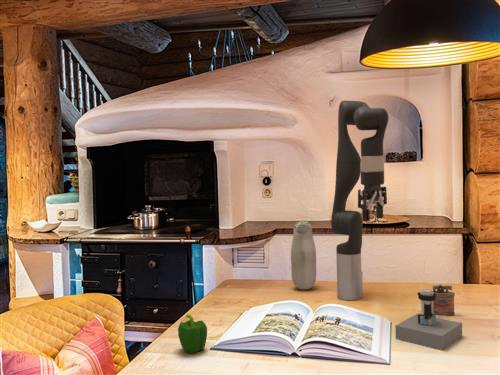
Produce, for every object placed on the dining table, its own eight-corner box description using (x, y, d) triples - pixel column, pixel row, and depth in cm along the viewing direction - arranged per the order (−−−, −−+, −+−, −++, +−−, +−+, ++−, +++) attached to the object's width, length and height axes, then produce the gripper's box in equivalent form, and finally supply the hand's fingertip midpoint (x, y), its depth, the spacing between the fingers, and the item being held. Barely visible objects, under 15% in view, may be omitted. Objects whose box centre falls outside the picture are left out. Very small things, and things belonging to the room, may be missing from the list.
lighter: (429, 314, 170) (428, 285, 170) (429, 311, 173) (428, 282, 173) (454, 316, 168) (454, 286, 167) (454, 313, 171) (454, 284, 170)
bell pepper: (210, 353, 143) (209, 318, 142) (181, 357, 141) (180, 322, 140) (204, 343, 151) (203, 310, 150) (177, 346, 149) (175, 313, 148)
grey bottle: (289, 286, 212) (287, 220, 210) (313, 285, 213) (312, 218, 211) (294, 292, 202) (292, 223, 200) (319, 291, 203) (317, 222, 201)
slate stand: (417, 326, 160) (417, 313, 159) (462, 336, 150) (462, 322, 150) (395, 338, 150) (395, 325, 149) (442, 350, 140) (442, 336, 140)
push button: (435, 319, 153) (434, 287, 153) (444, 325, 148) (444, 291, 147) (414, 321, 152) (414, 288, 151) (423, 327, 147) (423, 293, 146)
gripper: (373, 169, 172) (374, 216, 174) (350, 171, 162) (351, 221, 163) (393, 169, 167) (394, 217, 168) (371, 171, 157) (371, 223, 158)
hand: (373, 219), depth 166 cm, fingers open, 8 cm apart
